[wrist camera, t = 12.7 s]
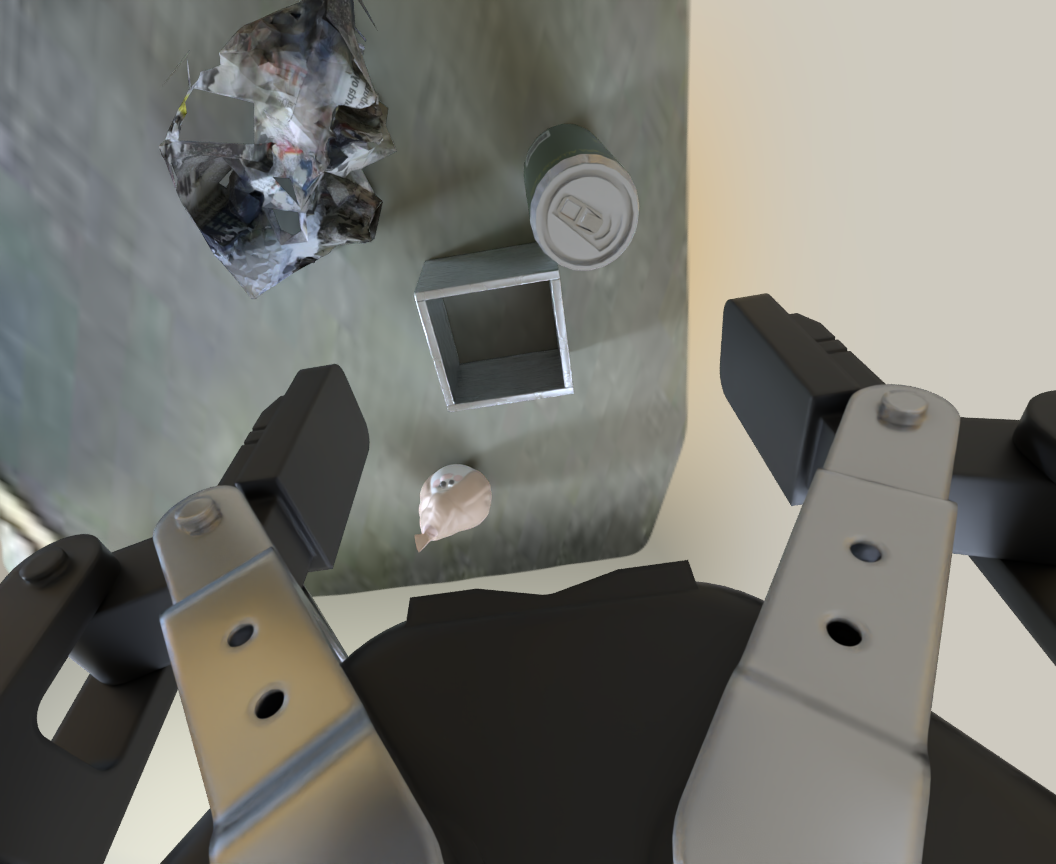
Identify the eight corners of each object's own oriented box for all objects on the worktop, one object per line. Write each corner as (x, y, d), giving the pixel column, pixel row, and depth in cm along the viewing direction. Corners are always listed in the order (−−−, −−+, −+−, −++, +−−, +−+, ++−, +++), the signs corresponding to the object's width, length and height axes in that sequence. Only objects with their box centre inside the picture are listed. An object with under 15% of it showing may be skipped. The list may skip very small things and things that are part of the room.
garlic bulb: (427, 446, 48) (415, 509, 42) (497, 456, 49) (496, 519, 43) (420, 499, 52) (408, 564, 46) (485, 507, 53) (483, 572, 47)
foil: (89, 121, 30) (202, -3, 21) (245, 73, 36) (384, -38, 27) (228, 308, 36) (363, 277, 27) (341, 239, 42) (481, 195, 33)
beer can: (508, 186, 36) (510, 243, 26) (549, 104, 33) (568, 132, 23) (577, 226, 37) (602, 293, 28) (621, 151, 35) (666, 196, 25)
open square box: (424, 260, 38) (413, 293, 34) (551, 239, 38) (559, 269, 33) (454, 371, 44) (448, 412, 39) (566, 353, 43) (574, 393, 39)
